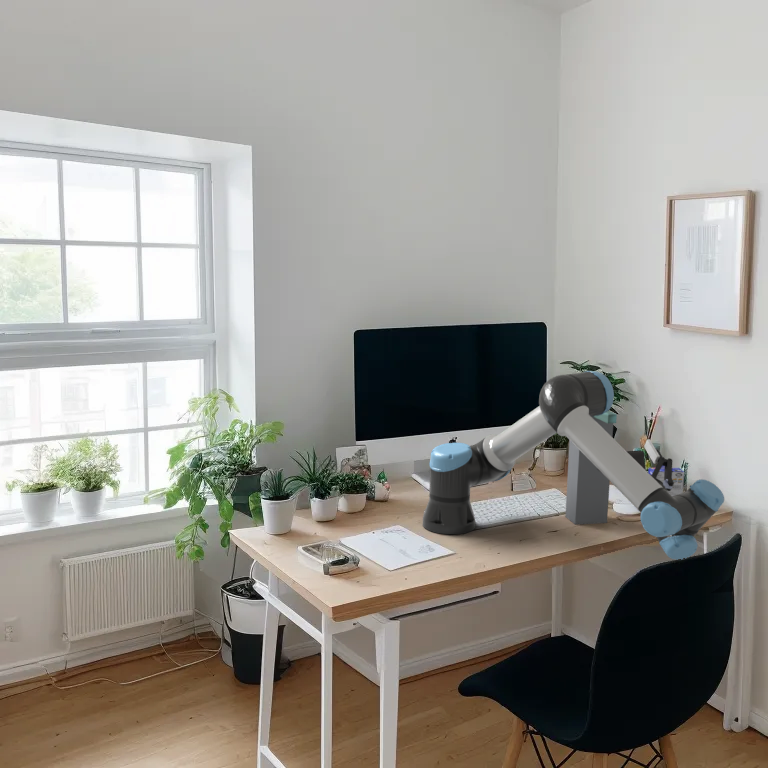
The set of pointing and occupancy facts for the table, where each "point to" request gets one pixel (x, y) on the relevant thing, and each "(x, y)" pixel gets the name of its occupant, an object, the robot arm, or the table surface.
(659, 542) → the robot arm
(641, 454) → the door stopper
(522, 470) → the table surface
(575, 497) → the charcoal stand
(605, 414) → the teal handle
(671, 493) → the ink cartridge box
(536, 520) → the table surface
